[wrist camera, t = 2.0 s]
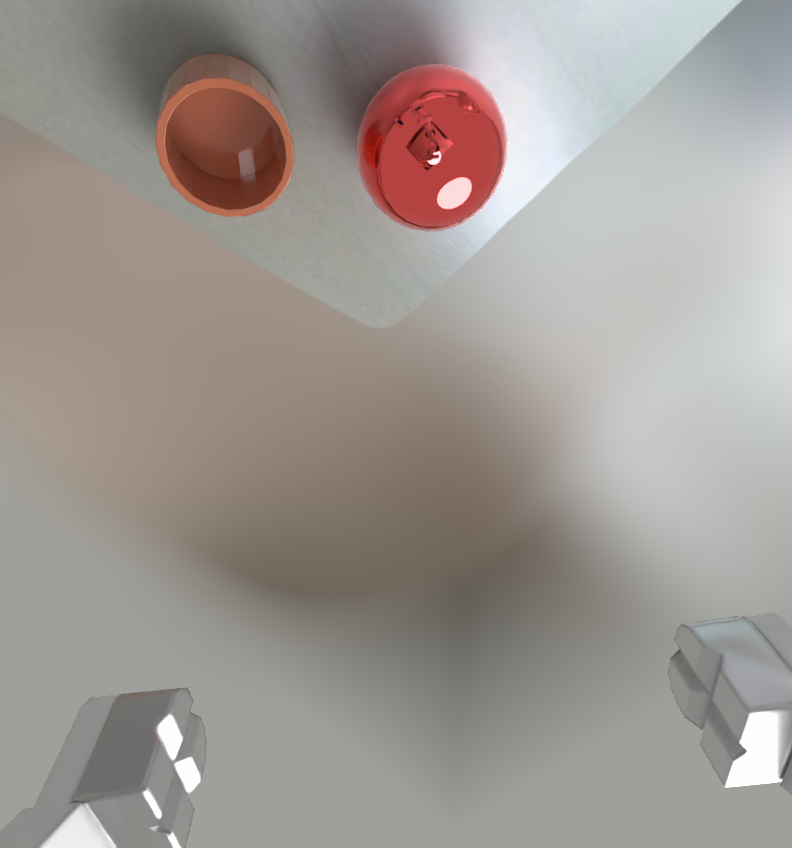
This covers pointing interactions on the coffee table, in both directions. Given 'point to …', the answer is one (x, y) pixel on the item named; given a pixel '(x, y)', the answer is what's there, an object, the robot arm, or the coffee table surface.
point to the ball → (432, 147)
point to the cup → (224, 136)
